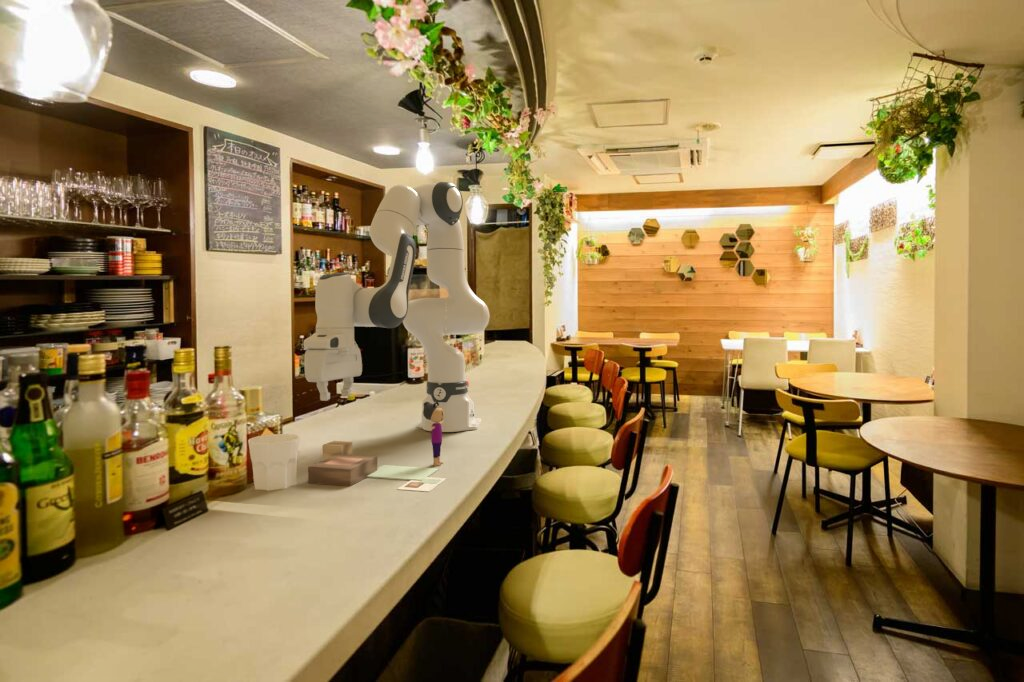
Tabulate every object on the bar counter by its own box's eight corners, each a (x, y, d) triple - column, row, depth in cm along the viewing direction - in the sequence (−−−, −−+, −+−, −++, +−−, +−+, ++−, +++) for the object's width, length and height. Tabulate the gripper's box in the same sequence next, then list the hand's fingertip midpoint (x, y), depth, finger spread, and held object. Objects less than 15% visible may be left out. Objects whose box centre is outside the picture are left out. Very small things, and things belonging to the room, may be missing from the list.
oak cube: (334, 460, 150) (333, 440, 150) (352, 462, 149) (352, 441, 149) (322, 465, 145) (322, 445, 145) (341, 467, 144) (341, 446, 144)
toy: (437, 470, 140) (436, 405, 139) (414, 469, 141) (413, 405, 140) (450, 460, 150) (450, 399, 149) (429, 459, 151) (428, 399, 150)
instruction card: (416, 476, 134) (416, 475, 134) (446, 478, 133) (446, 477, 133) (397, 489, 125) (397, 488, 125) (429, 491, 123) (429, 490, 123)
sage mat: (383, 466, 144) (383, 465, 144) (438, 469, 141) (438, 468, 141) (362, 477, 134) (362, 475, 134) (421, 481, 131) (421, 479, 131)
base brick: (338, 469, 141) (337, 454, 141) (377, 471, 139) (377, 456, 139) (308, 482, 130) (308, 466, 130) (350, 486, 127) (350, 469, 127)
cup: (310, 481, 132) (309, 435, 131) (278, 493, 122) (277, 444, 122) (272, 477, 135) (271, 432, 134) (238, 489, 125) (237, 441, 125)
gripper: (345, 339, 157) (346, 393, 157) (298, 341, 137) (299, 402, 137) (367, 339, 155) (368, 393, 155) (323, 341, 135) (324, 403, 136)
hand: (335, 398), depth 146 cm, fingers open, 8 cm apart
